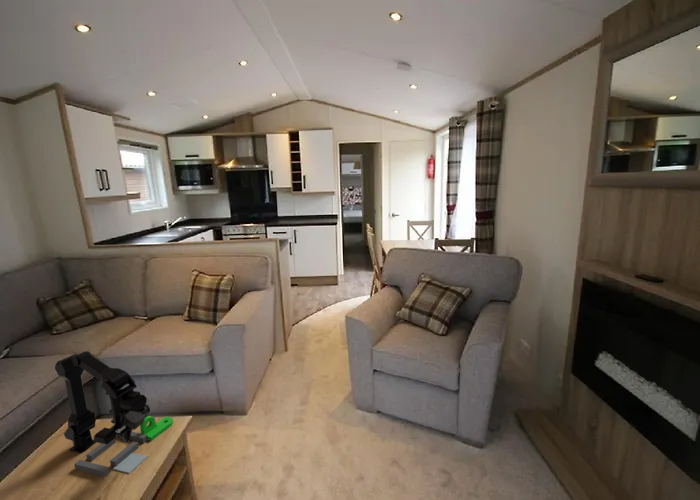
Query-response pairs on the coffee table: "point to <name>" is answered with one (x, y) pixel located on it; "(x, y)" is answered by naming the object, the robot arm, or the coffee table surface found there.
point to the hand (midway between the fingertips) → (127, 442)
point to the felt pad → (130, 463)
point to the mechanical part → (155, 426)
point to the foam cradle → (104, 470)
